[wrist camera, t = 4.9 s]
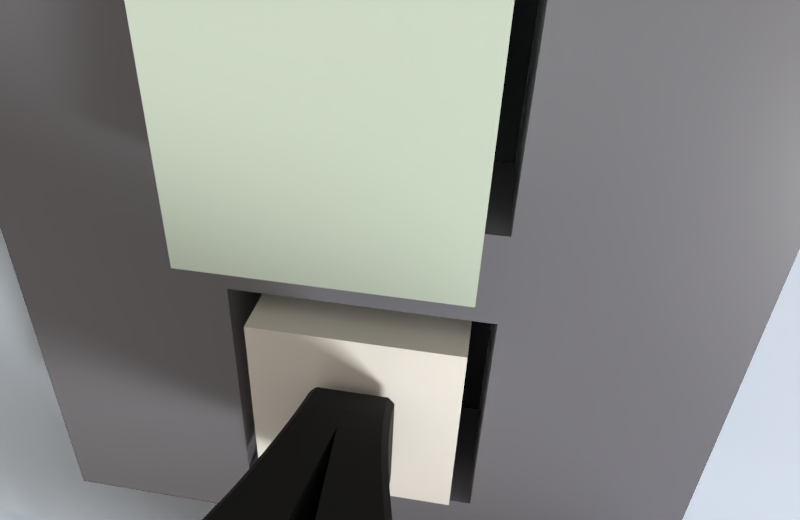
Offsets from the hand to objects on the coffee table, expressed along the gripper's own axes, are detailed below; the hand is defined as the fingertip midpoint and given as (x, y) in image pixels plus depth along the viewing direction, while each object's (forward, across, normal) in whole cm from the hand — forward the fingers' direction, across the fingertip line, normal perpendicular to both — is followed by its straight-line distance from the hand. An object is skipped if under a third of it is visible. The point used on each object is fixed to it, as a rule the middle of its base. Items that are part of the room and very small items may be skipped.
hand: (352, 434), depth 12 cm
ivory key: (+3, 0, 0) cm, 3 cm away
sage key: (+1, 0, -6) cm, 6 cm away
